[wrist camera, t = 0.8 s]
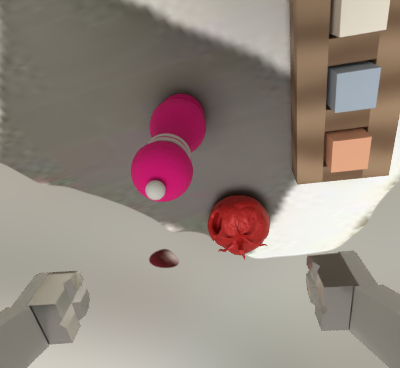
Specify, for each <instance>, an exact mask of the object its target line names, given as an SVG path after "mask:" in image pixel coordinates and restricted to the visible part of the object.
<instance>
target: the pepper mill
mask: <svg viewBox="0 0 400 368" xmlns="http://www.w3.org/2000/svg"><path fill="white" fill-rule="evenodd" d="M205 132H206V122H205V118H204V111H203V108H202V106H201V104H200V103H199V102H198V101H197V100H196V99H195V98H194V97H192V96H190V95H187V94H175V95H172V96H170V97H169V98H167V99H166V100H165V101H164V102H163V103H161V104H160V105H159V106H158V107H157V108H156V109H155V111H154V112H153V115H152V117H151V121H150V133H151V137H152V139H150V140H149V142H148V143H147V145H145V146H144V147H142V148H141V149H140V150H139V151H138V152H137V153H136V155H135V157H134V159H133V162H132V165H131V176H132V181H133V183H134V185H135V187H136V188H137V190H138V191H139V192H140V193H141V194H142V195H144V196H145V197H147V198H148V199H151V200H154V201H159V202H166V201H170V200H174V199H176V198H178V197H179V196H181V195H182V194H183V193H184V192H185V191H186V190H187V188H188V187H189V185H190V183H191V180H192V176H193V167H192V163H191V152H193V151H194V150H195V149H196V148H197V147H198V146H199V145H200V144H201V143H202V140H203V138H204V135H205Z"/></svg>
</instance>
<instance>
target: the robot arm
mask: <svg viewBox="0 0 400 368" xmlns="http://www.w3.org/2000/svg"><path fill="white" fill-rule="evenodd" d="M307 266H308V269H309V272H308V273H307V274H306V284H307V291H308V295H309V298H310V301H311V303H313V304H314V305H315V315H316V317H317V320H318V323H319V325H320V328H321V330H323V331H325V330H349V331H350V332H351V333H352V334H353V335H354V336H355V337H356V338H357V339H358V340H359V341H360V342H362V343H363V344H364V345H365V346H366V347H367V348H368V349H370V351H372V352H373V353H374V354H375V355H376V356H377V357H378V358H379V359H380V360H381V361H383V362H384V363H385V364H386V365H387V366H388V367H389V368H400V294H398V293H397V292H395V291H393V290H391V289H390V288H388V287H386V286H384V285H378V284H377V283H376V281H375V280H374V278H373V277H372V275H371V274H370V272H369V271H368V269H367V268H366V266H365V265H364V263H363V262H362V260H361V259H360V257H359V256H358V254H357V253H356V252H355V251H343V252H338V253H324V254H310V255H308V256H307ZM82 282H83V277H82V275H81V273H80V272H78V271H68V272H52V273H39V274H37V275H35V276H34V278H33V279H32V280H31V282H30V283H29V284H28V286H27V287H26V288H25V289H24V291H23V292H22V293H21V295H20V296H19V298H18V299H17V300H16V301H15V303H14V304H13V305H12V306H11V307H9V308H5V309H4V310H2V311H1V312H0V368H27V367H28V366H29V365H30V364H31V363H32V362H33V361H34V360H35V359H36V358H37V357H38V356H39V355H40V354H41V353H42V352H43V351H44V350H45V349H46V348H47V347H48V346H49V344H61V343H72V342H73V341H74V339H75V336H76V334H77V332H78V330H79V328H80V323H79V320H80V319H82V318H83V317H84V316H85V315H86V313H87V311H88V308H89V301H90V299H89V293H88V290H87V288H86V287H84V286H83V285H82Z"/></svg>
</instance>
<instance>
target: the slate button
mask: <svg viewBox="0 0 400 368" xmlns="http://www.w3.org/2000/svg"><path fill="white" fill-rule="evenodd" d="M380 73H381V67H380V66H378V65H376V64H374V63H372V62H370V61H364V62H357V63H351V64H344V65H338V66H332V67H328V81H327V102H326V104H327V105H328V106H329V107H330V108H331V109H332V111H333V112H334V113H340V112H347V111H355V110H362V109H370V108H376V102H377V95H378V87H379V80H380Z"/></svg>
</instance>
